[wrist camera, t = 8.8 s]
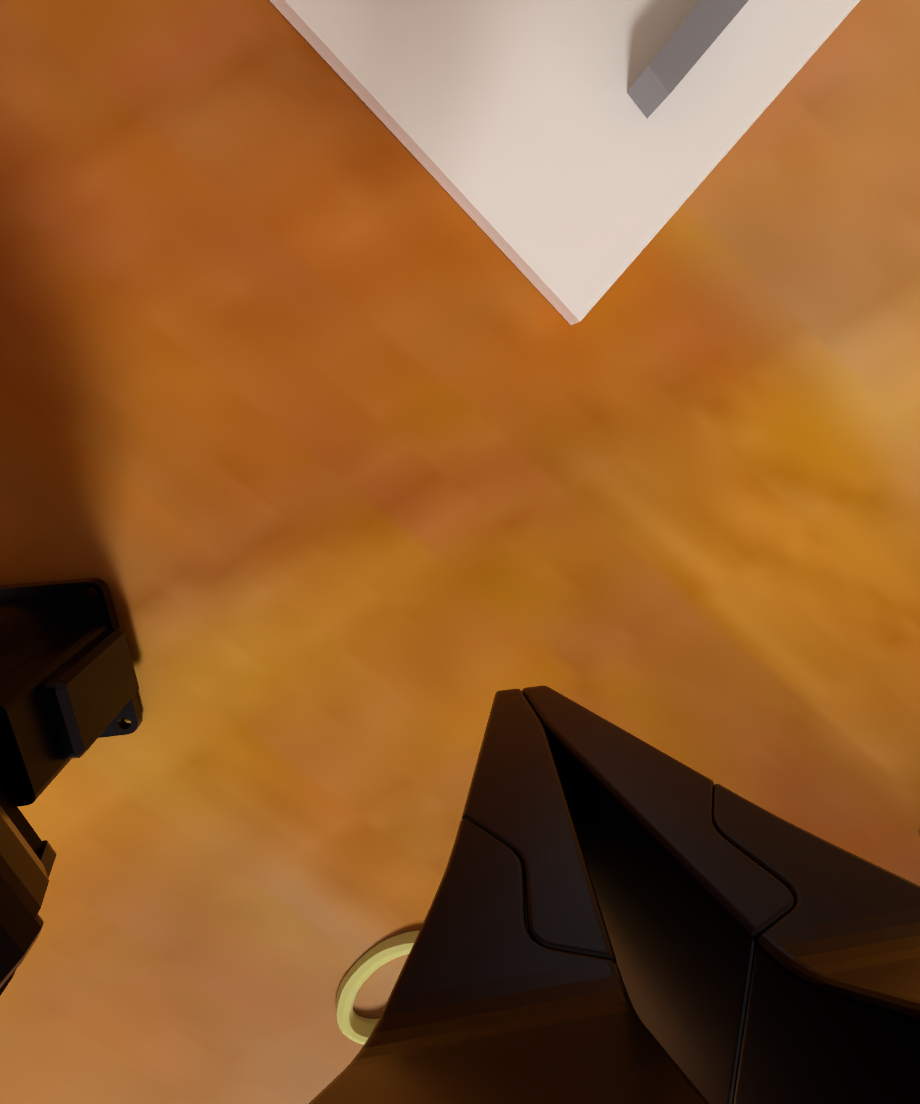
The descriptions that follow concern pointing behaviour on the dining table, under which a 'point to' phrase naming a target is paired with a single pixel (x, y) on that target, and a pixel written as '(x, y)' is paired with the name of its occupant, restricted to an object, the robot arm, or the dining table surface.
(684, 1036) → the robot arm
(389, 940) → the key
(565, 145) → the white rail base plate
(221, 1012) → the dining table surface
